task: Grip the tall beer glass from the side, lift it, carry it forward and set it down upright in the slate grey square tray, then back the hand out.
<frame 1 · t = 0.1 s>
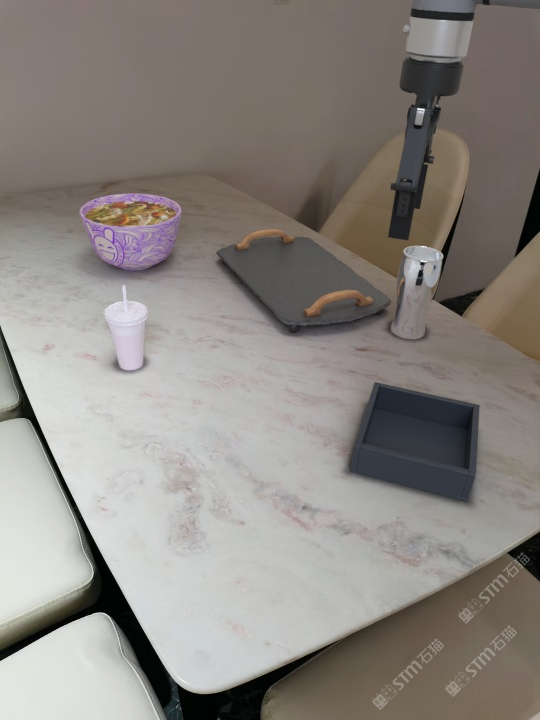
hand: (404, 221, 86), 24 cm above the table, tool pointing down, fingers open, 13 cm apart
bowl of food: (135, 263, 126), on the table
serving tray: (297, 287, 120), on the table
beer glass: (407, 331, 107), on the table
slate grey square tray: (414, 450, 80), on the table
smoothie: (131, 365, 94), on the table
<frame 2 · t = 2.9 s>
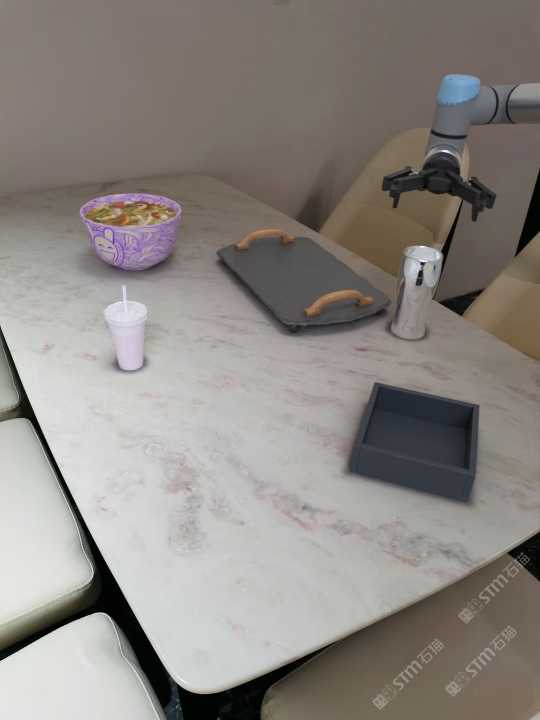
hand: (435, 207, 102), 20 cm above the table, tool horizontal, fingers open, 13 cm apart
nothing on the table moved.
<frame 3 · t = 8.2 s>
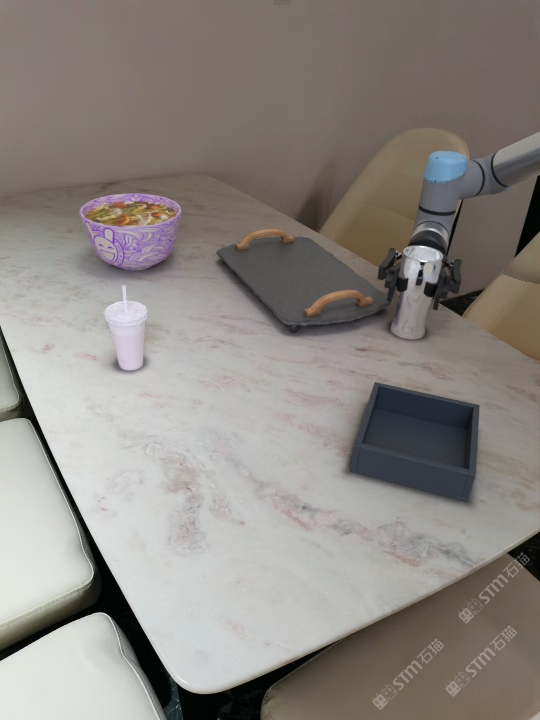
hand: (413, 298, 98), 9 cm above the table, tool horizontal, fingers closed on beer glass, 7 cm apart
beer glass: (407, 331, 107), on the table, touching gripper
everything else where it was.
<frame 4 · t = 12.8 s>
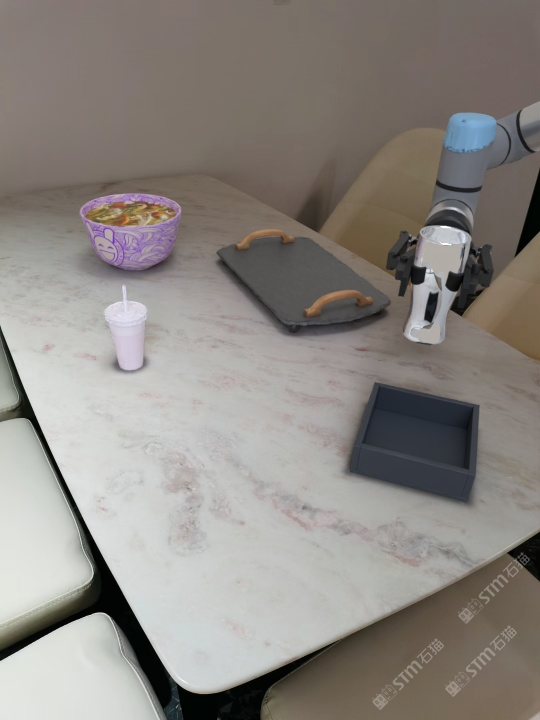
hand: (432, 292, 76), 20 cm above the table, tool horizontal, fingers closed on beer glass, 7 cm apart
beer glass: (423, 335, 85), point 11 cm above the table, touching gripper
everything else where it was.
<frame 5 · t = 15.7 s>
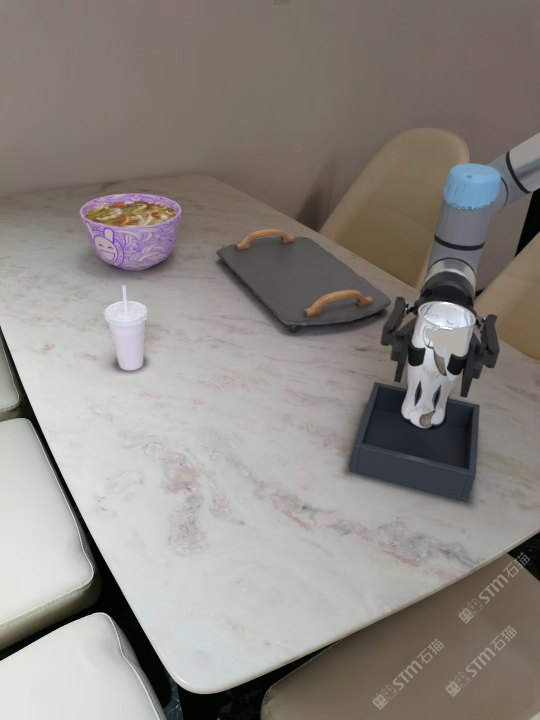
hand: (432, 380, 68), 15 cm above the table, tool horizontal, fingers closed on beer glass, 7 cm apart
beer glass: (421, 416, 77), point 6 cm above the table, touching gripper
everything else where it was.
when the fingers open (10 cm above the table, at t = 17.6 s): beer glass stays where it is, resting on slate grey square tray.
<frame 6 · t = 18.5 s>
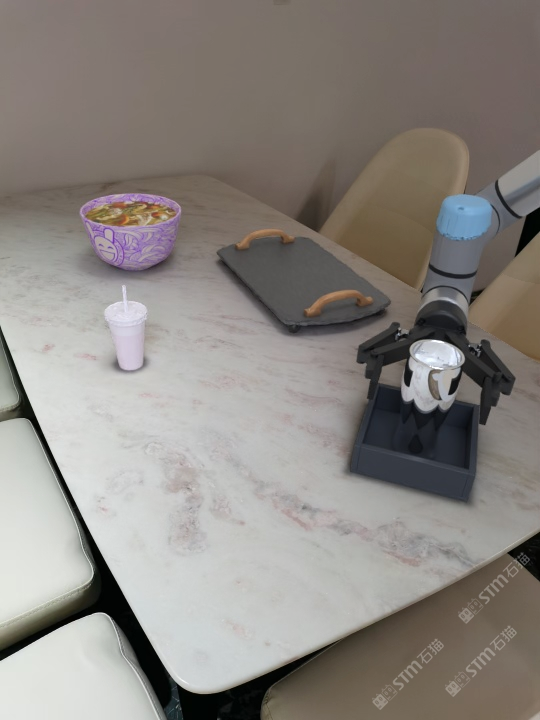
hand: (426, 403, 72), 10 cm above the table, tool horizontal, fingers open, 13 cm apart
beer glass: (414, 447, 80), resting on slate grey square tray
everything else where it was.
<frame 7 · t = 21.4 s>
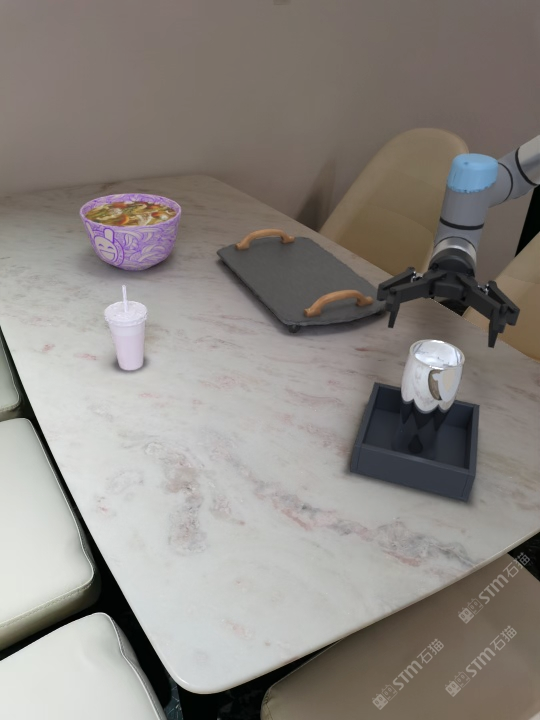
hand: (441, 329, 81), 13 cm above the table, tool horizontal, fingers open, 13 cm apart
nothing on the table moved.
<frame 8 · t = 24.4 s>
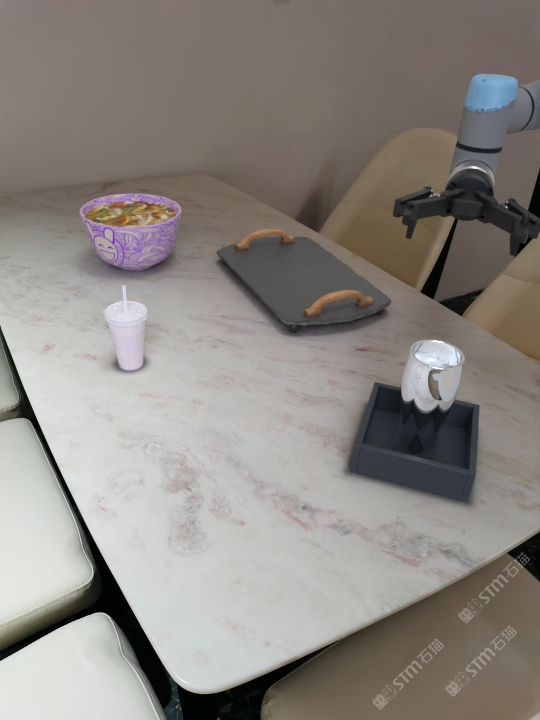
hand: (461, 237, 78), 25 cm above the table, tool horizontal, fingers open, 13 cm apart
nothing on the table moved.
at the end: beer glass inside the target area in the slate grey square tray (0.0 cm from its centre), point 0.4 cm above the slate grey square tray's base; beer glass tilted 0°; the gripper is holding nothing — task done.
